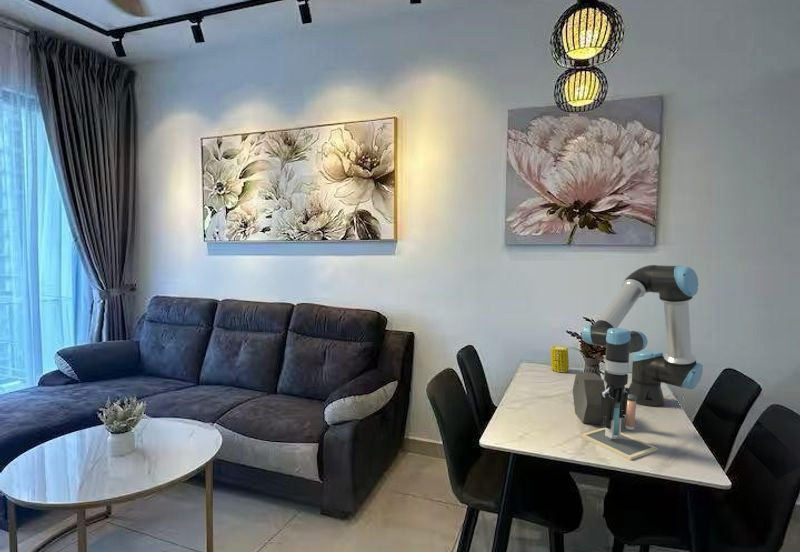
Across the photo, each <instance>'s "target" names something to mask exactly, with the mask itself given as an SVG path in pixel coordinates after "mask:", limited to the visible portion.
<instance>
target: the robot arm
mask: <svg viewBox="0 0 800 552" xmlns="http://www.w3.org/2000/svg"><path fill="white" fill-rule="evenodd" d="M698 287H699V279H698V275H697V273H696V271H695V270H694V269H693V268H692V267H689V266H683V265H658V264H657V265H656V264H651V265H646V266H643V267H640V268H638V269H636V270H635V271H633V272H631V273H630V274H629V275H628V276H627V277H626V278H625V279H624V280H623V282H622V283H621V288H620V289H619V291H618V292H617V294H616V295H615V296H614V298H613V299H611V302H610V303H609V304H608V306H607V307H606V308H605V310H604V311H603V312H602V314H601V315H600V317H599V318H598V319H597V320H596V322H595V323H594V324H586V325H584V326H583V328H582V330H581V338H582V341H583V342H584V343H586V344H589V345H593V346H599V347H603V348H605V360H604V361H605V362H604V370H605V371H604V376H603V377H604V378H603V380H604V383H606V386H605V391H604V392H603V391H601V392H600V394H601V417H603V418H604V421H605V425H604V427H605V436H607V437H610V438H613V433H614V420H612V419H613V414H614V407H615V402H616V401H618V402H620V411H619V428H618V435H617V436H620V432H621V431H622V430H621V427H622V419H625V415H626V410H627V400H628V394H631V395H635V396H637V399H636V405H637V404H638V405H642V406H647V407H662V406H664V405H665V396H664V393H663V389H662V387H661V386H662V385H661V384H667V385H670V386H675V387H679V388H682V389H688V390H695V388H697V386H698V385H699V383H700V382H701V379H702V376H703V365H702V364H701V363H700V362H697V358H696V356H695V354H693V353H692V340H691V339H692V338H691V323H690V320H691V319H690V307H689V306H690V304H689V302H691V300H693V298H694V296H696V295H697V293H698V291H699V288H698ZM646 293H653V294H655V293H656V294H658V298H659V300H660V301H662V302H663V306H664V308H663V309H664V320H665V322H664V323H665V333H666V335H665V336H666V350H667V352H666V353H665V354H664V353H663V352H662V351H660V350H652V349H651V350H645V348H646V347H647V346H648V339H647V338H648V337H647V336H646V335H645V333H643V332H642V331H640V330H631V331H630V330H629V329H627V328H621V327H619V326H620V325H621V323H622V322H623V321H624V319H625V318H626V316H627V315H628V313H629V312H630V311H631V309H632V308H633V307H634V306H635V304H636V303H637V301H638V300H639V298H642V297H644V296H645V294H646ZM630 354H633V356H632V361H631V362H632V364H631V365H632V366H631V367H632V369H631V381H630V385H629V387H626V385H628V383H629V375H628V373H629V367H630V366H629V365H630V364H629V363H630V362H629V361H630ZM621 433H622V432H621Z"/></svg>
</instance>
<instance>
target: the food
mask: <svg viewBox="0 0 800 552" xmlns="http://www.w3.org/2000/svg"><path fill="white" fill-rule="evenodd" d="M549 351H550V363H551V371H553V370H554V372H556V373H558V372H559V373H561V372H562V373H568V372H569V369H570V367H569V365H570V364H569V356H570V355H569V348H568V347H567V346H564V345H561V344H560V345H559V344H557V345H552V346H550V350H549ZM567 371H568V372H567Z"/></svg>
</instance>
